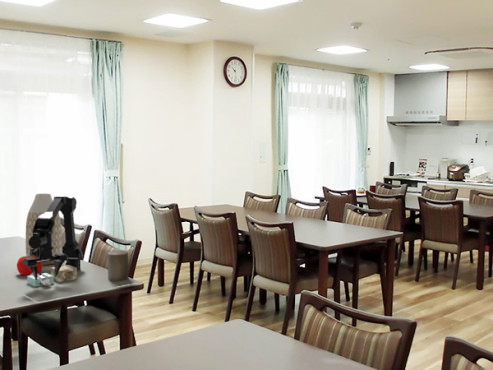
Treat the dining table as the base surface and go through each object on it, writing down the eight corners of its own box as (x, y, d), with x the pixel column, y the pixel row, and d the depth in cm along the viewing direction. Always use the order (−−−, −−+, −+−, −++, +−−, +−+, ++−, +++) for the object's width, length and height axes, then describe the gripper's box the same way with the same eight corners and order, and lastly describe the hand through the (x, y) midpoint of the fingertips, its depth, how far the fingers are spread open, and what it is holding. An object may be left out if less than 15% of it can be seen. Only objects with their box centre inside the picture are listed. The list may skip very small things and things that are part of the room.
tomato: (35, 279, 265) (34, 258, 264) (11, 277, 268) (11, 257, 267) (47, 273, 276) (47, 253, 275) (25, 272, 279) (25, 252, 278)
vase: (51, 267, 289) (50, 196, 286) (19, 266, 292) (17, 195, 288) (68, 260, 307) (67, 193, 304) (37, 258, 310) (36, 192, 307)
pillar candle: (132, 280, 266) (132, 249, 265) (115, 283, 259) (114, 252, 258) (120, 276, 272) (120, 246, 271) (103, 280, 265) (103, 249, 264)
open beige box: (68, 276, 270) (68, 264, 270) (77, 280, 264) (76, 268, 264) (50, 279, 264) (50, 267, 264) (59, 283, 258) (59, 271, 257)
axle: (30, 280, 259) (29, 273, 259) (37, 278, 262) (36, 271, 261) (44, 287, 248) (44, 279, 247) (51, 285, 250) (51, 278, 250)
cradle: (46, 281, 261) (46, 272, 261) (53, 284, 255) (53, 276, 255) (27, 284, 255) (27, 275, 254) (34, 288, 249) (34, 279, 249)
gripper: (57, 239, 261) (57, 271, 263) (17, 244, 248) (18, 278, 250) (67, 242, 253) (68, 275, 255) (27, 248, 240) (28, 282, 242)
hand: (46, 278), depth 250 cm, fingers open, 9 cm apart
